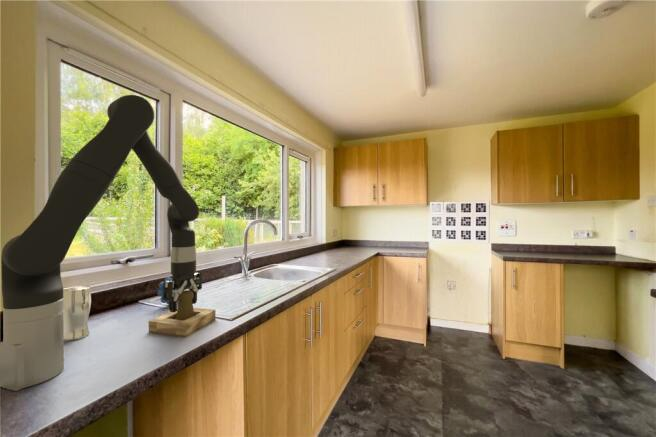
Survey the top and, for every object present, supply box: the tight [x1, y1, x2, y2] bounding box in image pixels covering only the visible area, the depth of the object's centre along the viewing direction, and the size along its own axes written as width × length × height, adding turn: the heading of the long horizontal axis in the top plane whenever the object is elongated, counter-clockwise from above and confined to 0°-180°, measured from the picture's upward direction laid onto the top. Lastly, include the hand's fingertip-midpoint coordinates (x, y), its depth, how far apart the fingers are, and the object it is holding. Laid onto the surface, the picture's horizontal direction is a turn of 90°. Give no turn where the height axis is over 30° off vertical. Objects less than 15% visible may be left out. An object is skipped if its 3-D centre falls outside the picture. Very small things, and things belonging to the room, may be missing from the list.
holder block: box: [148, 307, 216, 338], centre depth 88 cm, size 14×14×4 cm
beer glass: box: [63, 285, 92, 342], centre depth 80 cm, size 7×7×15 cm
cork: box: [176, 289, 194, 321], centre depth 89 cm, size 6×6×11 cm
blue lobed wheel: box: [157, 276, 178, 306], centre depth 109 cm, size 12×7×12 cm, turn 164°
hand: (183, 307), depth 88 cm, fingers open, 8 cm apart
